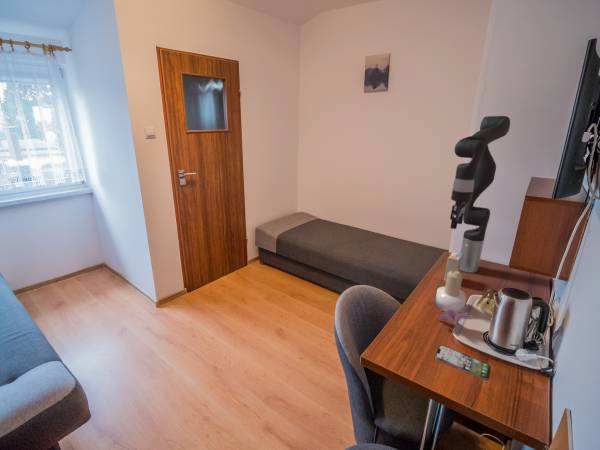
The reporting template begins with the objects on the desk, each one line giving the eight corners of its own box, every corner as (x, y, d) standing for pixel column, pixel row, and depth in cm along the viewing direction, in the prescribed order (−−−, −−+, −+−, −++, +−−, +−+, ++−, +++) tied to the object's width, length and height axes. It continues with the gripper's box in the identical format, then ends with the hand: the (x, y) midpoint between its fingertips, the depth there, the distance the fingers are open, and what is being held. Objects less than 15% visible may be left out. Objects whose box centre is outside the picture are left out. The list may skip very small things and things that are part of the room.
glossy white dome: (440, 295, 134) (442, 283, 132) (467, 304, 127) (469, 292, 125) (431, 306, 126) (433, 294, 124) (459, 317, 119) (462, 304, 117)
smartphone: (487, 379, 90) (434, 357, 98) (486, 382, 91) (434, 359, 99) (490, 364, 96) (439, 344, 104) (489, 366, 96) (439, 346, 104)
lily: (476, 333, 112) (472, 306, 114) (472, 338, 102) (468, 309, 104) (441, 331, 119) (438, 305, 120) (434, 336, 109) (431, 308, 111)
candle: (461, 297, 122) (465, 275, 118) (447, 296, 122) (451, 274, 119) (456, 289, 127) (460, 268, 124) (442, 289, 127) (446, 268, 124)
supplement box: (454, 285, 142) (459, 260, 138) (443, 282, 145) (447, 257, 140) (458, 278, 148) (462, 253, 144) (447, 275, 151) (451, 251, 147)
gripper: (468, 193, 118) (461, 232, 123) (476, 187, 128) (470, 223, 133) (447, 191, 123) (441, 228, 128) (457, 185, 133) (451, 220, 138)
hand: (456, 226), depth 131 cm, fingers open, 8 cm apart
